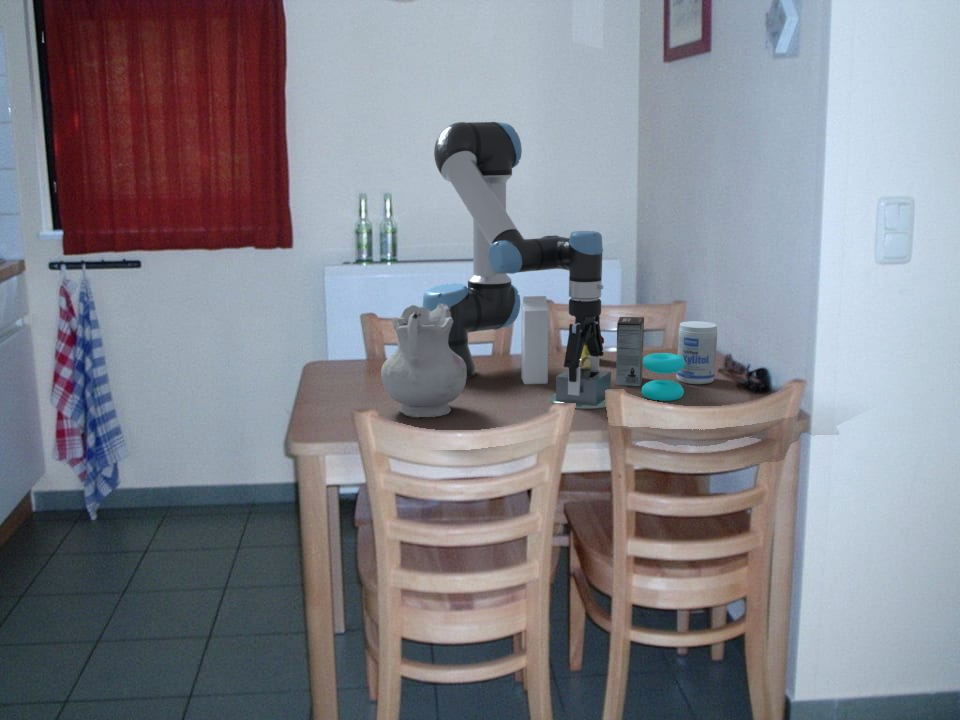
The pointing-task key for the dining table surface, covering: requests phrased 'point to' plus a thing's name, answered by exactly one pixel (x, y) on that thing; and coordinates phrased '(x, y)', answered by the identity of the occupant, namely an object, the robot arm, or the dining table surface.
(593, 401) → the steel link
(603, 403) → the round base stand
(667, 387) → the donuts
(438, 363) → the ceramic pitcher
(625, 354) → the coffee box
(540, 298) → the milk
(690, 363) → the supplement tub
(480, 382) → the dining table surface
